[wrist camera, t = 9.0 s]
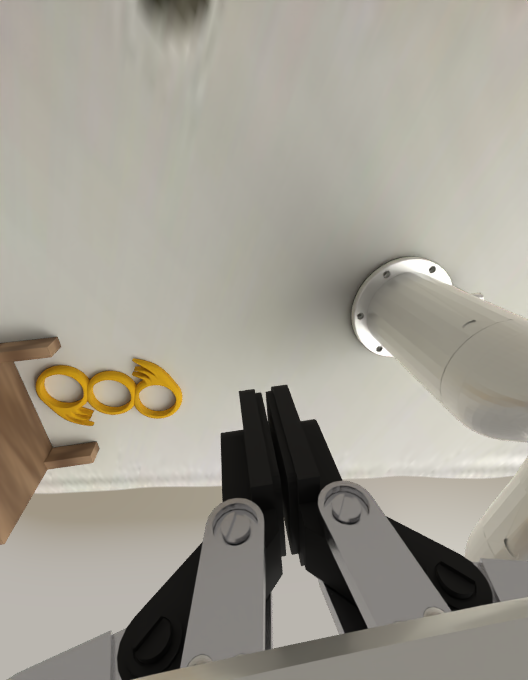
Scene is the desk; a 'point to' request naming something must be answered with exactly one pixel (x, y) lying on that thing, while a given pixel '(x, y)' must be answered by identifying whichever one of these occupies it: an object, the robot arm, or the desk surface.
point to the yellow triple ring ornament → (145, 371)
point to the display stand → (27, 435)
